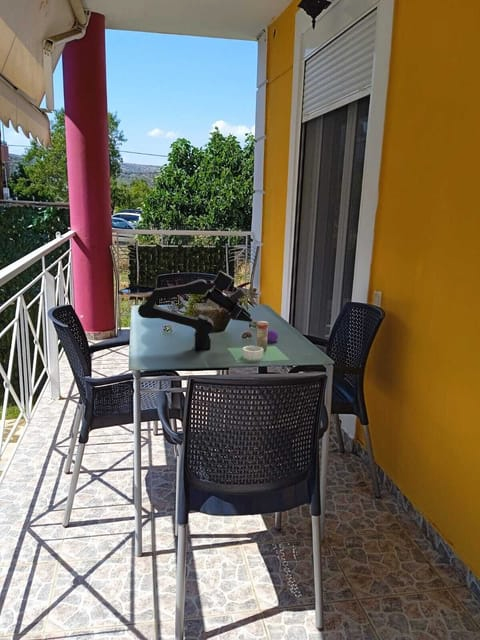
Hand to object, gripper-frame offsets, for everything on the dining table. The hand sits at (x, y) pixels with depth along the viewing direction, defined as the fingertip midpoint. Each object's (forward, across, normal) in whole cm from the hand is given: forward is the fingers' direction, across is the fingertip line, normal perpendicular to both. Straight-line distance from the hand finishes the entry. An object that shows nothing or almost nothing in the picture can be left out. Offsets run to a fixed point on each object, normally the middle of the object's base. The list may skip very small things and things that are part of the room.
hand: (251, 318), depth 200 cm
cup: (+7, -11, +11) cm, 18 cm away
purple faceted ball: (+16, +20, +7) cm, 27 cm away
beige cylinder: (+11, -2, +9) cm, 15 cm away
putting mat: (+10, -7, +11) cm, 16 cm away
